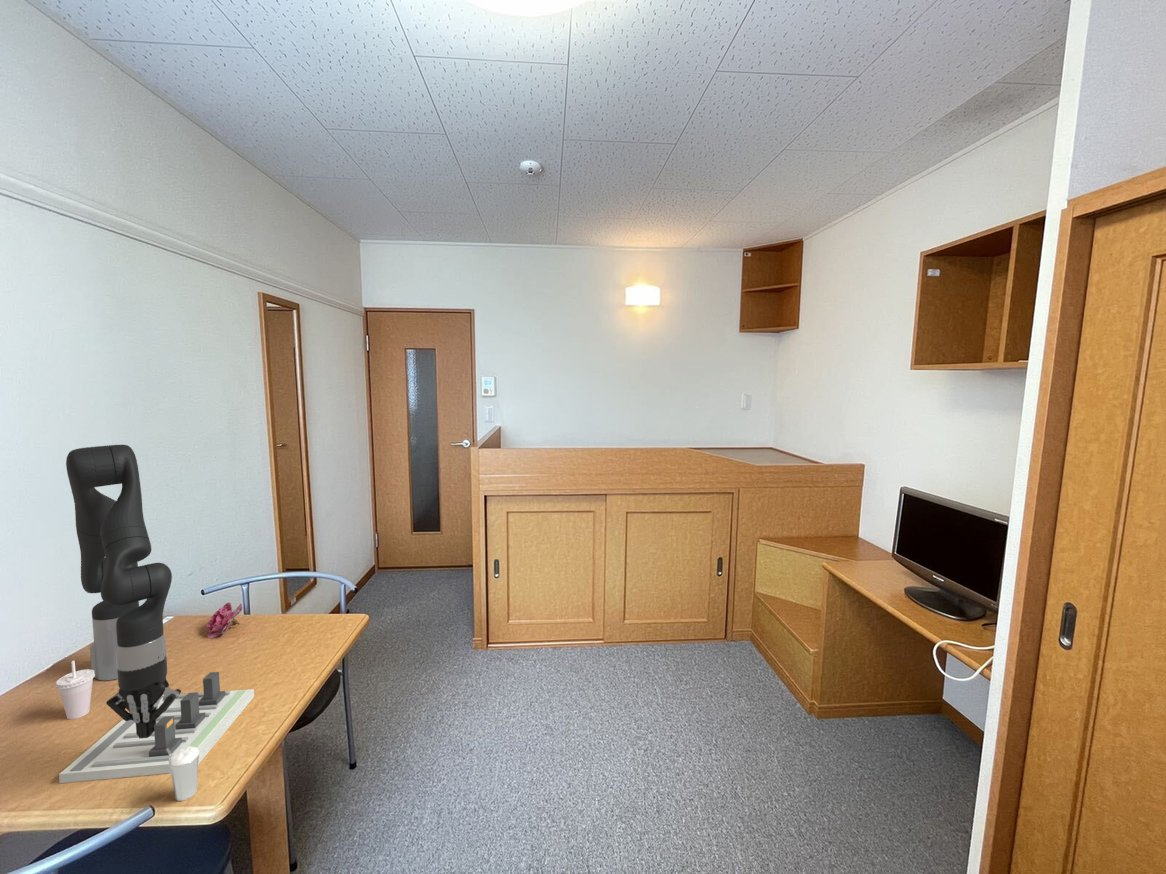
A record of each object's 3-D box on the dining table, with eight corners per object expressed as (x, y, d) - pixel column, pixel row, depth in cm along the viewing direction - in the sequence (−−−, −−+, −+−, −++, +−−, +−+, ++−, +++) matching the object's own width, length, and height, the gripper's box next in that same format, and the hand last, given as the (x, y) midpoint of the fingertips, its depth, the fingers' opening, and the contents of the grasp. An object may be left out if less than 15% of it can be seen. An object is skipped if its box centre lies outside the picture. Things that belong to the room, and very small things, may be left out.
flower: (207, 650, 146) (189, 625, 146) (230, 636, 156) (212, 612, 156) (238, 630, 146) (220, 604, 146) (258, 617, 156) (241, 593, 156)
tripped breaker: (149, 757, 97) (147, 727, 97) (161, 744, 101) (159, 715, 100) (170, 755, 98) (168, 726, 97) (182, 742, 102) (180, 714, 101)
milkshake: (178, 785, 94) (176, 739, 93) (206, 784, 94) (204, 738, 93) (160, 805, 89) (157, 757, 88) (189, 803, 89) (187, 756, 88)
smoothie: (52, 726, 108) (47, 670, 107) (67, 709, 114) (62, 656, 112) (90, 718, 111) (86, 663, 110) (102, 702, 117) (98, 650, 115)
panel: (59, 783, 93) (56, 742, 92) (150, 703, 117) (147, 670, 116) (193, 770, 97) (190, 731, 96) (254, 696, 121) (252, 664, 120)
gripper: (89, 671, 92) (95, 752, 94) (164, 667, 94) (169, 745, 96) (120, 650, 99) (125, 725, 101) (189, 647, 101) (193, 720, 103)
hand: (147, 735), depth 98 cm, fingers closed
